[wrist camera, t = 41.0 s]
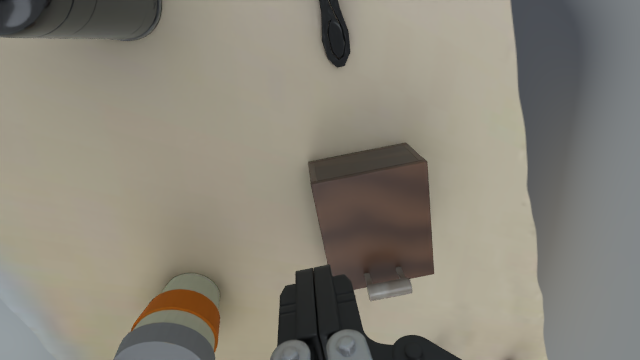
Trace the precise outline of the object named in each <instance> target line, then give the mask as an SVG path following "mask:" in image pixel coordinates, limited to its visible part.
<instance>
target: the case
mask: <svg viewBox="0 0 640 360" xmlns="http://www.w3.org/2000/svg"><path fill="white" fill-rule="evenodd" d="M422 160H425V159H424V158H423V157H421V156H420V155H419V154H418V153H417V152H416V151H415V150H414V149H413V148H411V147H410V146H409V145H408V144H407V143H401V144H396V145H391V146H386V147H381V148H376V149H371V150H366V151H361V152H356V153H351V154H346V155H341V156H336V157H331V158H326V159H321V160H316V161H311V162H308V164H309V173H310V181H311V182H316V181H322V180H327V179H332V178H337V177H342V176H347V175H352V174H357V173H362V172H367V171H372V170H377V169H382V168H387V167H392V166H397V165H402V164H407V163H412V162H417V161H422Z"/></svg>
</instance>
